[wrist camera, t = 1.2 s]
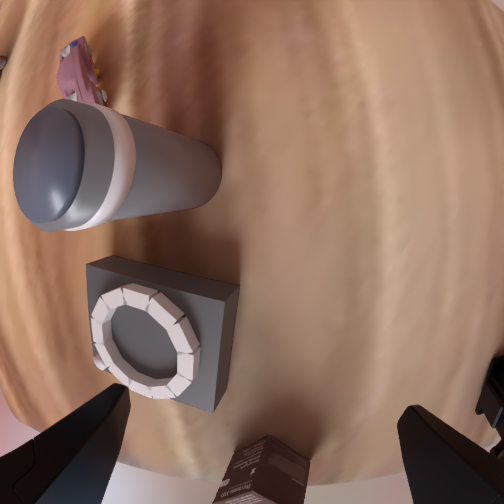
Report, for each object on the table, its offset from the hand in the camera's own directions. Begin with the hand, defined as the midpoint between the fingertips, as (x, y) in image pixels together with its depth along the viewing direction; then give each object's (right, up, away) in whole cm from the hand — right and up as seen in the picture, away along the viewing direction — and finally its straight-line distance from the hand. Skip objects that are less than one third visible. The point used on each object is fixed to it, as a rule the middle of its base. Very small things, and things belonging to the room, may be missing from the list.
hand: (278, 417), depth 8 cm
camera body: (-8, -1, +17) cm, 19 cm away
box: (+1, -17, +18) cm, 24 cm away
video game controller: (-15, +20, +14) cm, 29 cm away
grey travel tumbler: (-5, +11, +14) cm, 18 cm away
